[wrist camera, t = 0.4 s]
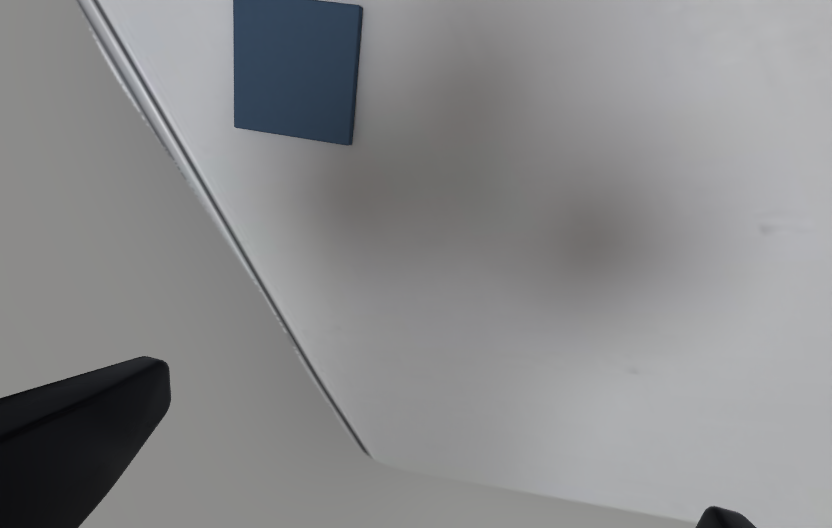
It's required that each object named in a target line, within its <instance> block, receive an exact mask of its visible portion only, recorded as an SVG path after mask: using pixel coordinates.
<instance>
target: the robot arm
mask: <svg viewBox="0 0 832 528" xmlns="http://www.w3.org/2000/svg"><path fill="white" fill-rule="evenodd" d="M170 402H171V390H170V375H169V367H168V365H167V363H166V362H164V361H163V360H159V359H155V358H151V357H146V356H142V357H138V358H135V359H132V360H128V361H125V362H121V363H118V364H115V365H111V366H108V367H104V368H101V369H97V370H94V371H91V372H87V373H84V374H81V375H77V376H74V377H71V378H67V379H64V380H61V381H57V382H54V383H50V384H47V385H43V386H40V387H37V388H33V389H30V390H26V391H23V392H20V393H16V394H13V395H10V396H6V397H3V398H0V528H78V527H79V526H80V525H81V524H82V523H83V521H84V520H85V519H86V518H87V517H88V516H89V514H90V513H91V512H92V511H93V510H94V509H95V508H96V506H97V505H98V504H99V503H100V502H101V500H102V499H103V498H104V497H105V496H106V494H107V493H108V492H109V490H110V489H111V488H112V487H113V486H114V484H115V483H116V482H117V480H118V479H119V478H120V476H121V475H122V474H123V472H124V471H125V469H126V468H127V467H128V465H129V464H130V463H131V461H132V460H133V458H134V457H135V456H136V454H137V453H138V452H139V450H140V449H141V447H142V446H143V445H144V443H145V442H146V440H147V439H148V437H149V436H150V435H151V434H152V432H153V431H154V429H155V428H156V427H157V425H158V424H159V422H160V421H161V420H162V418H163V417H164V416H165V414H166V412H167V411H168V408H169V406H170ZM696 528H756V527H755V526H754V525H753V524H752V523H751V522H750V521H749V520H748V519H747V518H745V517H744V516H743V515H742V514H740V513H738V512H735V511H731V510H727V509H723V508H720V507H716V506H711V507H709V508H707V509H706V510H705V511H704V513H703V515H702V517H701V519H700V520H699V522H698V524H697V526H696Z"/></svg>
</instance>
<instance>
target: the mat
mask: <svg viewBox="0 0 832 528" xmlns="http://www.w3.org/2000/svg"><path fill="white" fill-rule="evenodd" d="M362 10H363V8H362V7H361V6H359V5H352V4H344V3H335V2H326V1H318V0H233V16H234V127H236V128H242V129H248V130H254V131H261V132H267V133H273V134H279V135H286V136H292V137H298V138H304V139H311V140H317V141H323V142H329V143H336V144H342V145H352V137H353V124H354V111H355V99H356V86H357V73H358V61H359V48H360V35H361V23H362Z"/></svg>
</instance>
